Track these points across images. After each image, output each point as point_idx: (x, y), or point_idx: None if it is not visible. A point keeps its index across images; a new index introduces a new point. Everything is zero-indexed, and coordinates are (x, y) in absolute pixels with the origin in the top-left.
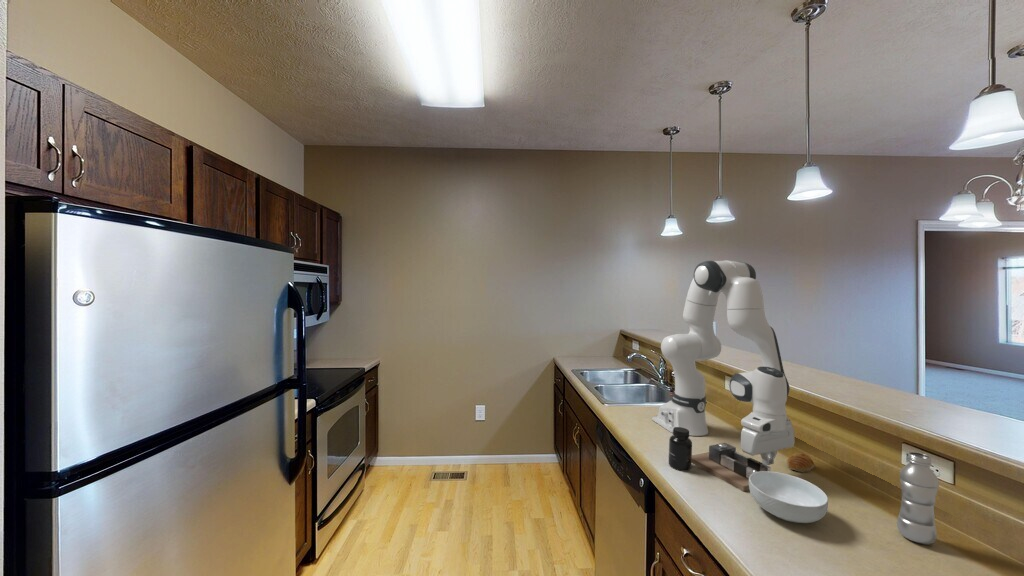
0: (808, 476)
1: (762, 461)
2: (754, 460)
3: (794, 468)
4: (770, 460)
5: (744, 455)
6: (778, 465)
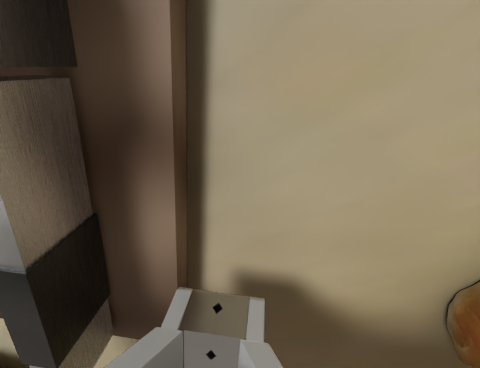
0: (432, 364)
1: (172, 301)
2: (20, 320)
3: (454, 330)
4: (206, 366)
5: (3, 211)
6: (466, 225)
